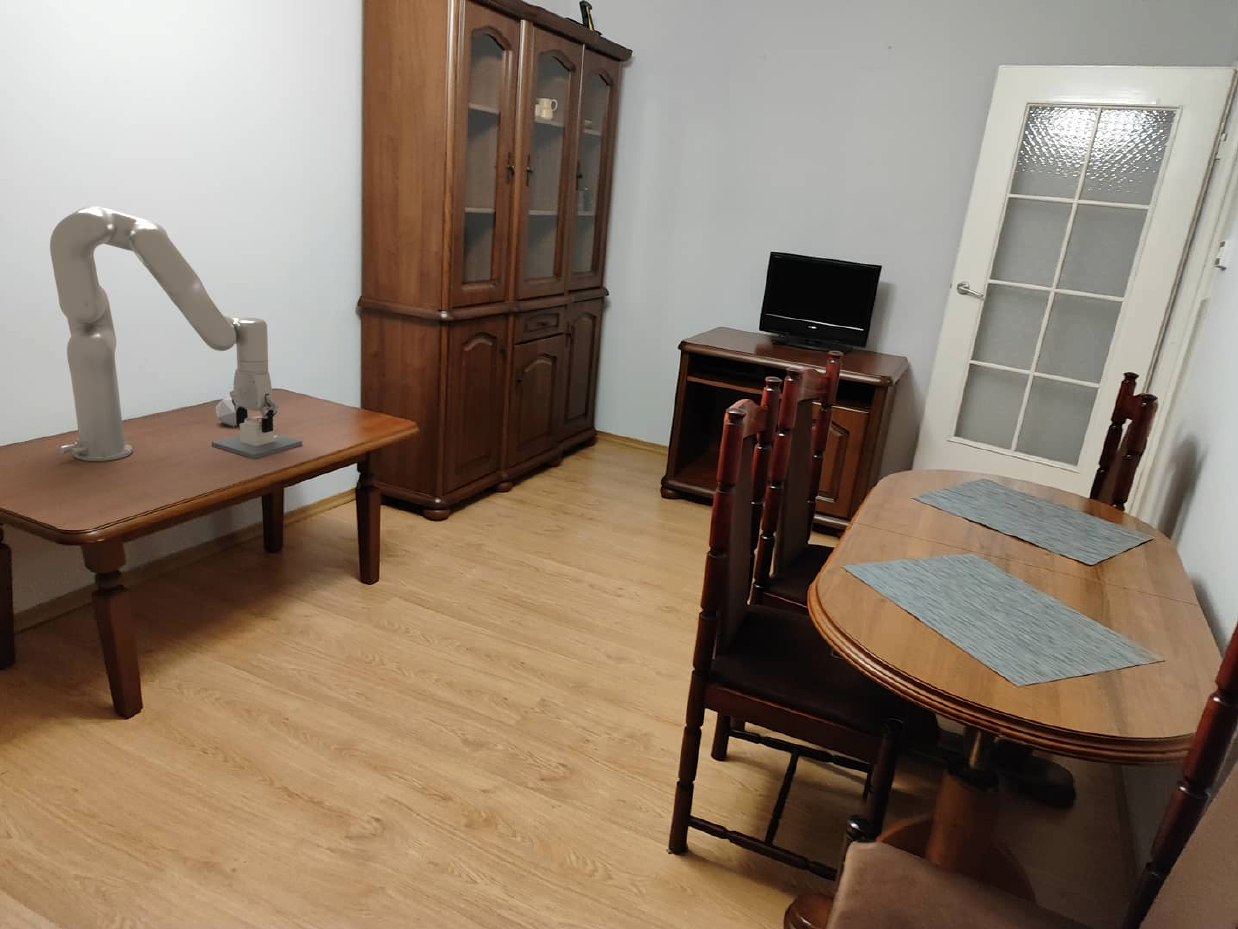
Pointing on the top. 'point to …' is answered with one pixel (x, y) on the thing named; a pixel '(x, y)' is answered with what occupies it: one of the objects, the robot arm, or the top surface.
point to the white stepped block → (255, 432)
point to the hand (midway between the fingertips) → (254, 427)
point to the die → (226, 412)
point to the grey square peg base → (253, 451)
